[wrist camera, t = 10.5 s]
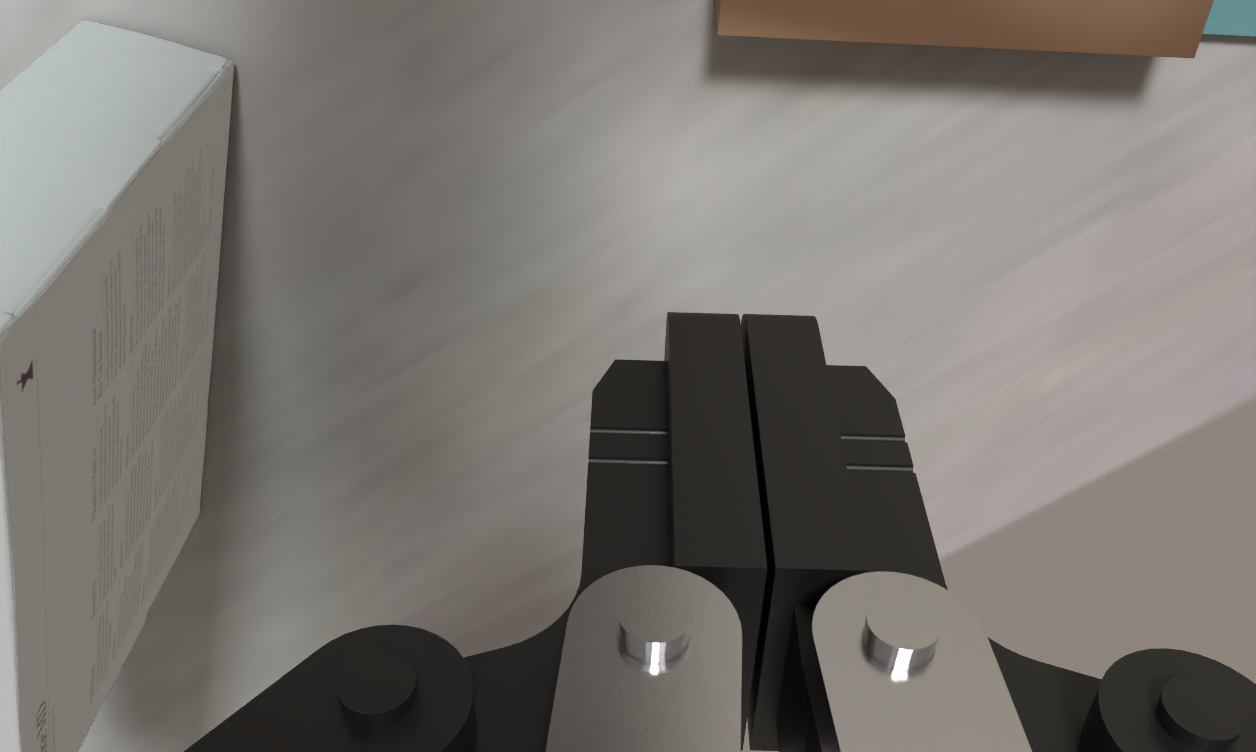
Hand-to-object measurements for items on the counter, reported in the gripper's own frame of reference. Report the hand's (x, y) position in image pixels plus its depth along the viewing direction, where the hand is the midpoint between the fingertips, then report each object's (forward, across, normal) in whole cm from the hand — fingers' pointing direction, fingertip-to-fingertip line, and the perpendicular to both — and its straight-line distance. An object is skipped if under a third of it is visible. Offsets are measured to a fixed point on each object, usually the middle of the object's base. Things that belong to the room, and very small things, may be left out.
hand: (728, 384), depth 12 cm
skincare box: (+27, +19, +17) cm, 37 cm away
